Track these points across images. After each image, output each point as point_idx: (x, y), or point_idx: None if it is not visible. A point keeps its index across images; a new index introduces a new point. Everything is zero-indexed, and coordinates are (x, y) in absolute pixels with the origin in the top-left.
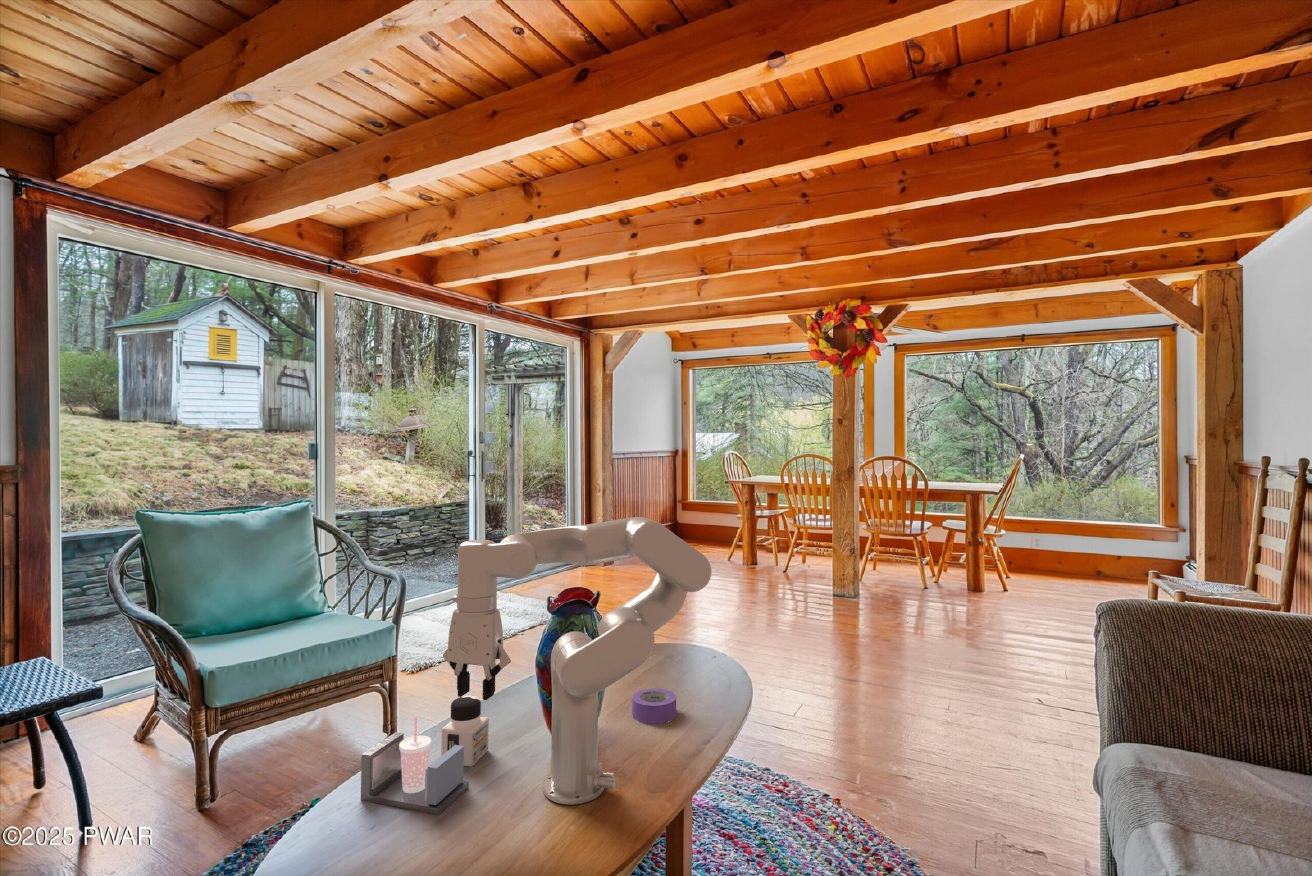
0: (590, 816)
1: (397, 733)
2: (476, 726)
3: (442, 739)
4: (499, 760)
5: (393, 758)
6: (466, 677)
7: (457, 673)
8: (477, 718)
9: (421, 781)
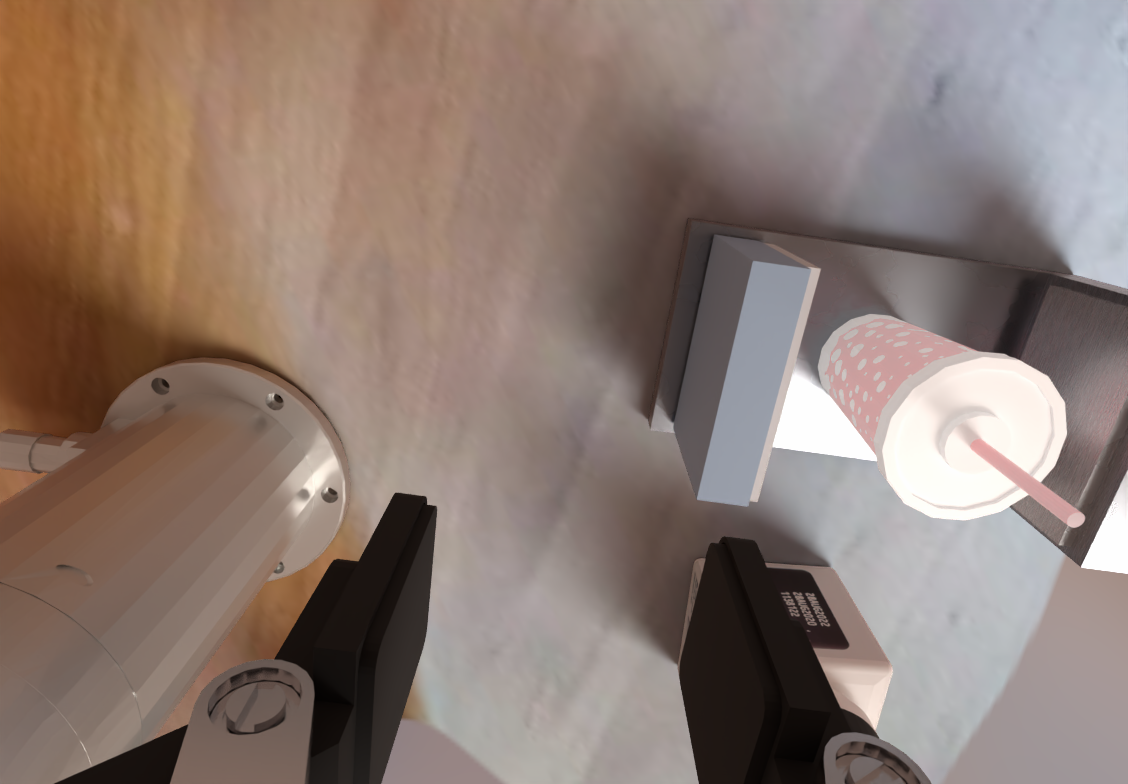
0: (85, 301)
1: (1116, 562)
2: None
3: (866, 630)
4: (605, 611)
5: None
6: (725, 769)
7: (866, 772)
8: None
9: (841, 349)
